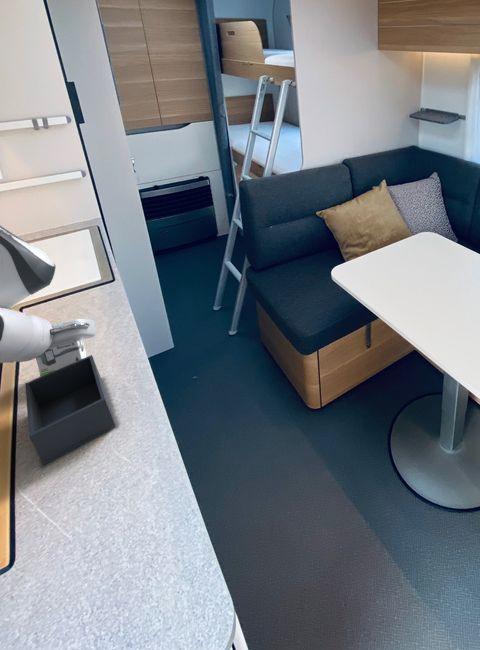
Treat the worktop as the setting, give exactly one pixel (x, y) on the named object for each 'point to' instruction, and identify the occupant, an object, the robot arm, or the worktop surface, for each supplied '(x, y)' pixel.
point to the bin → (67, 409)
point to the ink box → (60, 357)
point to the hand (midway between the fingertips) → (54, 343)
